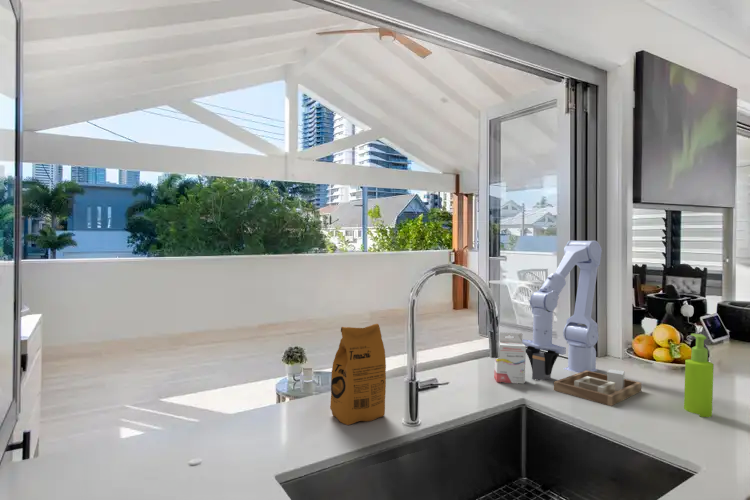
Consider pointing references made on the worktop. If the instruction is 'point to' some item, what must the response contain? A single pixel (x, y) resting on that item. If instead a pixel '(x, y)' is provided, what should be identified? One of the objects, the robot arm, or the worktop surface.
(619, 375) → the grey plug
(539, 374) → the dark grey tall block
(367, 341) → the coffee package
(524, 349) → the ink cartridge box
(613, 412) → the worktop surface
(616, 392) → the walled box
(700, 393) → the soap dispenser
